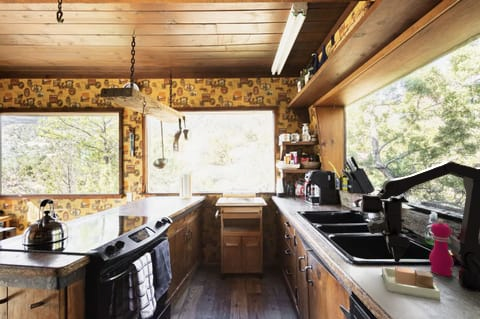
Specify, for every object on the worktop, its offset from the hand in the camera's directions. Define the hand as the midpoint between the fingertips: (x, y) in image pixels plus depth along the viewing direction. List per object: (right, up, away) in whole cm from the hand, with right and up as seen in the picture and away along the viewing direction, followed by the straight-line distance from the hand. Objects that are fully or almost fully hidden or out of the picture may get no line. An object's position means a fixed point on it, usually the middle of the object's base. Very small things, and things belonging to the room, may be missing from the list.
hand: (393, 257), depth 91 cm
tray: (0, -7, -7) cm, 10 cm away
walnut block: (+3, -6, -10) cm, 12 cm away
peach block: (-2, -4, -4) cm, 6 cm away
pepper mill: (+20, -7, +3) cm, 21 cm away
